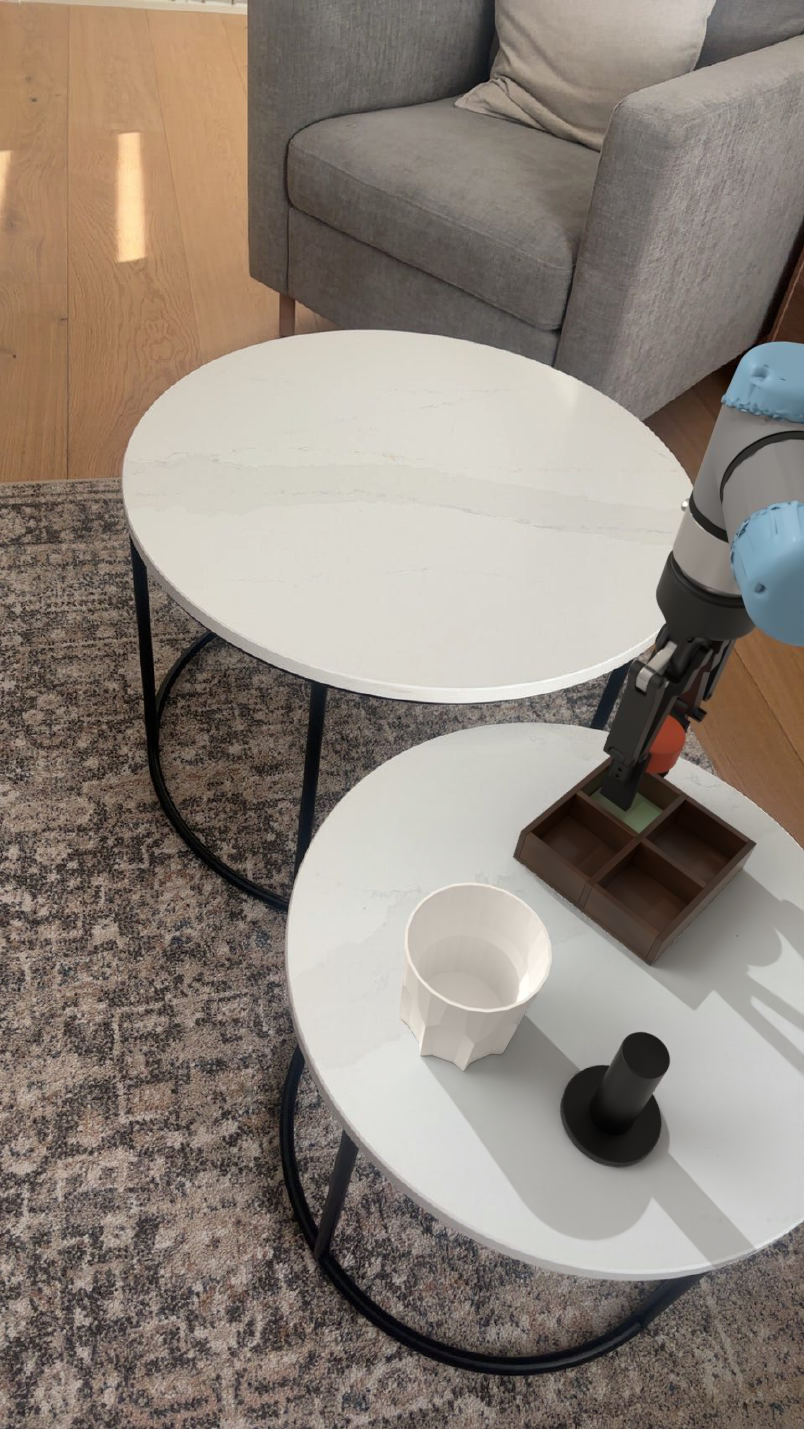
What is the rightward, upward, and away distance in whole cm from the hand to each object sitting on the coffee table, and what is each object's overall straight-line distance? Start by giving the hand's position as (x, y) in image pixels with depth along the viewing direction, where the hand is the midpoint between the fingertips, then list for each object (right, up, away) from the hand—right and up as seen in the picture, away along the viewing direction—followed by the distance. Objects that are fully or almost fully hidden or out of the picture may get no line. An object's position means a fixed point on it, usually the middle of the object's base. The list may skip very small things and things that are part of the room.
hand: (634, 782), depth 92 cm
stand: (-5, -22, -16) cm, 28 cm away
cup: (-16, -17, -12) cm, 26 cm away
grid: (0, -7, 0) cm, 7 cm away
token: (0, +3, -3) cm, 4 cm away
